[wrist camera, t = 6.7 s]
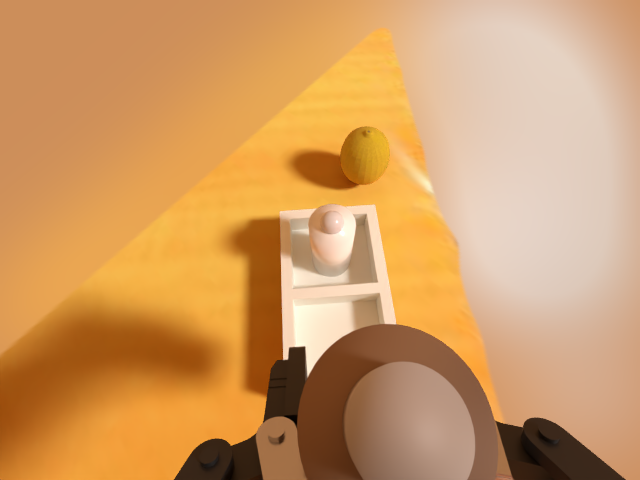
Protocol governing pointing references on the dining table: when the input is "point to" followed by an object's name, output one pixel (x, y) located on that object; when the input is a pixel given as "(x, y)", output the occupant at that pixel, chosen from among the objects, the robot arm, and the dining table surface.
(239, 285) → the dining table surface
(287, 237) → the caddy
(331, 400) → the pepper mill
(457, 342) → the dining table surface
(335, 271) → the salt shaker
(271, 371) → the robot arm
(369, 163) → the lemon
